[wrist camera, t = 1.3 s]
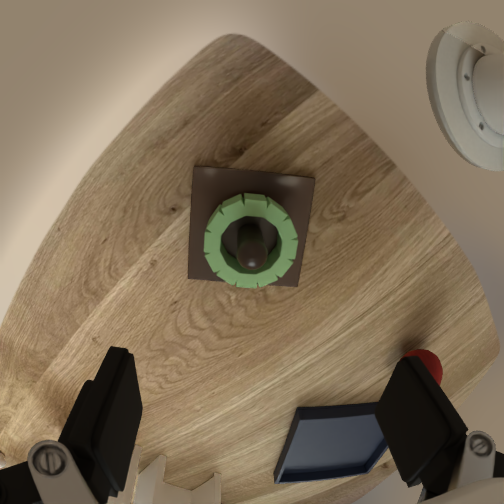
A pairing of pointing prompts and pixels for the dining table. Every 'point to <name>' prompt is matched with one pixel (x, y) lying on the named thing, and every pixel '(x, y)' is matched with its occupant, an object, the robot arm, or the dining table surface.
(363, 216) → the dining table surface
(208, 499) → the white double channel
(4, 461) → the mushroom
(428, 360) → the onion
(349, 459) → the tray
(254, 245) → the stand
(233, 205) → the ring
